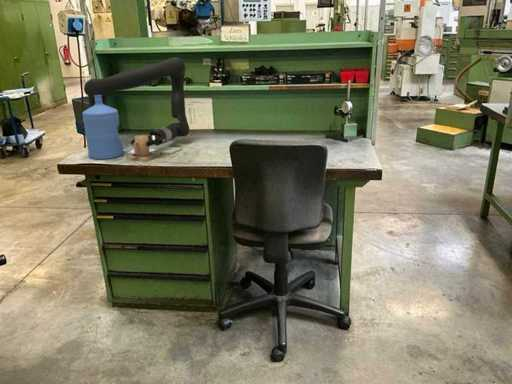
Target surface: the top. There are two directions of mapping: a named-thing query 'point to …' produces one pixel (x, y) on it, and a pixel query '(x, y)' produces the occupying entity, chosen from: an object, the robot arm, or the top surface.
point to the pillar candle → (141, 146)
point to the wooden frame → (134, 157)
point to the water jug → (102, 131)
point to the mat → (168, 150)
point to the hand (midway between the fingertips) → (139, 143)
